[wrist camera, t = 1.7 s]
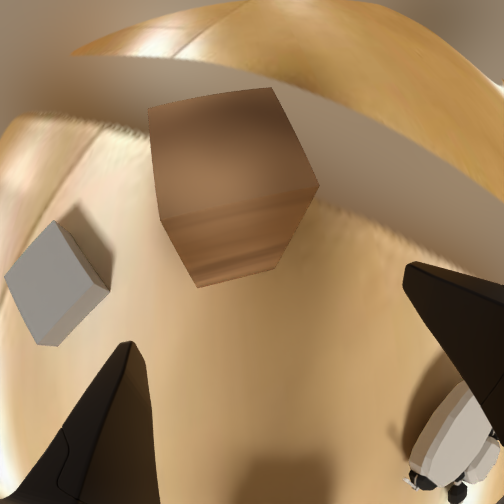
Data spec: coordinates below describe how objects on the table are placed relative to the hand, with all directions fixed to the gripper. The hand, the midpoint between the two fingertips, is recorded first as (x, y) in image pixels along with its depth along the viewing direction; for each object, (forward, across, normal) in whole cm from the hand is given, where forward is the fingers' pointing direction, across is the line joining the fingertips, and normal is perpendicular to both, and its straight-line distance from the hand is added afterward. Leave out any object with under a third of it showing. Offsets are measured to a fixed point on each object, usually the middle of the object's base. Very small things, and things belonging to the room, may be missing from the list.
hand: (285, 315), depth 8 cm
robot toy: (-4, -16, +22) cm, 27 cm away
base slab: (+14, +15, +4) cm, 21 cm away
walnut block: (+14, 0, +4) cm, 15 cm away
